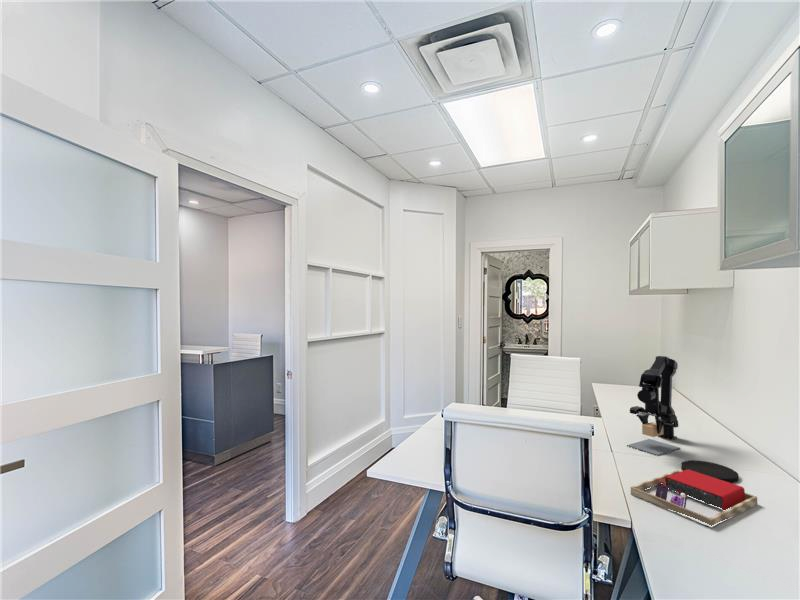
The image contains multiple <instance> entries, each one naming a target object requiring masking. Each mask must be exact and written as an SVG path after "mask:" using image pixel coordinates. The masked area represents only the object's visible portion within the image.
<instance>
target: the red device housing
mask: <svg viewBox="0 0 800 600" xmlns="http://www.w3.org/2000/svg"><path fill="white" fill-rule="evenodd" d="M664 485H665V486H668V487H671V488H673V489H676V490H679V491H681V492H684V493H687V495H689V496H691V497H693V498H696V499H698V500H702V501H704V502H705V503H707V504H712V505H714V506H717V507H720V508H722V509H723V510H726V509H728V508H730V507H733V506H735V505H737V504H739V503H741V502H743V501H745V493H746V492H745V491H746V490H745V488H744V487H743V486H740V485H739V484H735V483H729V482H726V481H723V480H720V479H717V478H714V477H711V476H707V475H704V474H701V473H698V472H695V471H692V470H689V469H687V470H684V471H683V470H681V472H679V473H676V474H674V475H671V476H668V477H666V478H665V483H664ZM669 489H670V488H669ZM670 490H671V489H670ZM670 490H669V491H670ZM685 495H686V494H685ZM707 504H706V505H707Z"/></svg>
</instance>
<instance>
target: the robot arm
mask: <svg viewBox="0 0 800 600" xmlns="http://www.w3.org/2000/svg"><path fill="white" fill-rule="evenodd" d="M677 370H678V361H676V360H675V359H672V358H670V357H669V356H664V355H663V356H662V355H657V356H655V360H654V361H653V363H652V364H651V367H650V368H649V369H646V370H644V371H643V372H642V374H640V381H639V384H638V388H641V390H639V391H638V392H637V398H638V400H639V401H640V402H641V403H643V404H644V407H642V406H638V405H636V406H630V407H629V414H633V415H635V416H636V417H637V418H638V419H639V421H640V422H641V423H642V424H647V423H649V417H650V416H652V417H654V420H655V423H656V425H657V432H658V434H660V432H661V430H662V427H663V435H660V436H657V437H658V438H663V439H666V440H670V441H671V440H675V439H678V436H676V435H675V428H679V420H678V416H677V415H676V411H675V410H674V408H673V407H672V397H673V396H672V395H673V394H672V389H673V377H674V376H675V374H676V373H677ZM659 389H660V391H659Z"/></svg>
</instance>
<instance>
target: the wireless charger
mask: <svg viewBox="0 0 800 600" xmlns="http://www.w3.org/2000/svg"><path fill="white" fill-rule="evenodd" d="M680 466H681V467H680V469H681V471H684V470H687V469H689V470H692V471H695V472H698V473H701V474H704V475H707V476H711V477H714V478H717V479H720V480H723V481H726V482H729V483H732V484H735V483H737V482H739V473H738V472H737V471H736V470H734V469H732V468H730V467H728V466H725V465H723V464H718V463H715V462H710V461H704V460H694V459H693V460H692V459H691V460H683V461H682V462H681V463H680Z"/></svg>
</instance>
